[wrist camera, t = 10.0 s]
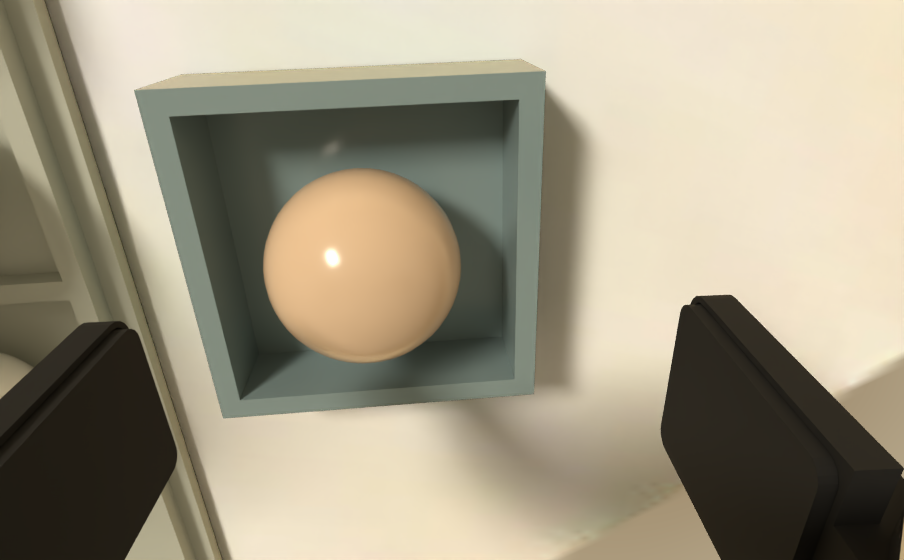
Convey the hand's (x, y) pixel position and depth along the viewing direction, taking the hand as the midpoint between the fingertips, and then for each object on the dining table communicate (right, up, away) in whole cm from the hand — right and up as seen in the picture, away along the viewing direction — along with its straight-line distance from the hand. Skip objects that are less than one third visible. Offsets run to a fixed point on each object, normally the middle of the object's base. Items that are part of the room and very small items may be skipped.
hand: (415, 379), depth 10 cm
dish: (-2, +3, +7) cm, 8 cm away
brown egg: (-2, +3, +7) cm, 8 cm away
